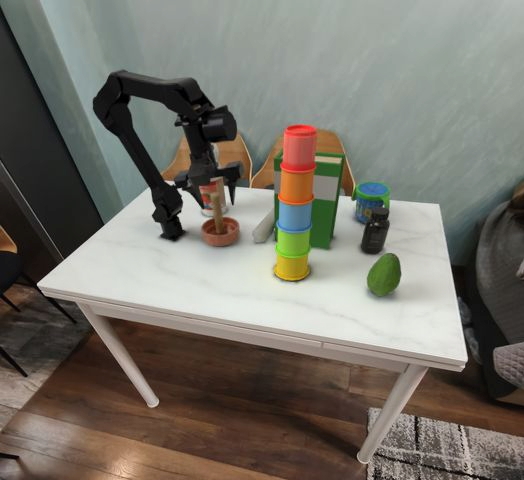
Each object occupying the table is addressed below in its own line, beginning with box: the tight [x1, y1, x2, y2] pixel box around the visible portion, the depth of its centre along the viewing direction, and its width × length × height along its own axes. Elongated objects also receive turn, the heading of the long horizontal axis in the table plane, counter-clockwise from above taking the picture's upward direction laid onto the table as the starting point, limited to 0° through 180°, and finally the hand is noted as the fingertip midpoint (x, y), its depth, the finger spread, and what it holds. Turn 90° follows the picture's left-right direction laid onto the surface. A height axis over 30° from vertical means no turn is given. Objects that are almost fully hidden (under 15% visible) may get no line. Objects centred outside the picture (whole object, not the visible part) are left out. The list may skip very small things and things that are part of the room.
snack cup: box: [350, 181, 391, 224], centre depth 102 cm, size 16×10×10 cm
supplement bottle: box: [360, 206, 391, 255], centre depth 90 cm, size 7×7×12 cm
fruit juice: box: [199, 143, 228, 217], centre depth 103 cm, size 9×9×28 cm
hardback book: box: [273, 148, 346, 250], centre depth 90 cm, size 18×7×24 cm, turn 70°
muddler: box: [210, 192, 228, 235], centre depth 96 cm, size 4×4×14 cm
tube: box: [252, 207, 275, 243], centre depth 103 cm, size 5×5×25 cm
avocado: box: [366, 252, 402, 297], centre depth 77 cm, size 8×8×12 cm
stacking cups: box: [273, 124, 318, 282], centre depth 75 cm, size 10×10×35 cm
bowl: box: [200, 216, 241, 247], centre depth 100 cm, size 12×12×4 cm
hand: (218, 207), depth 88 cm, fingers open, 9 cm apart
